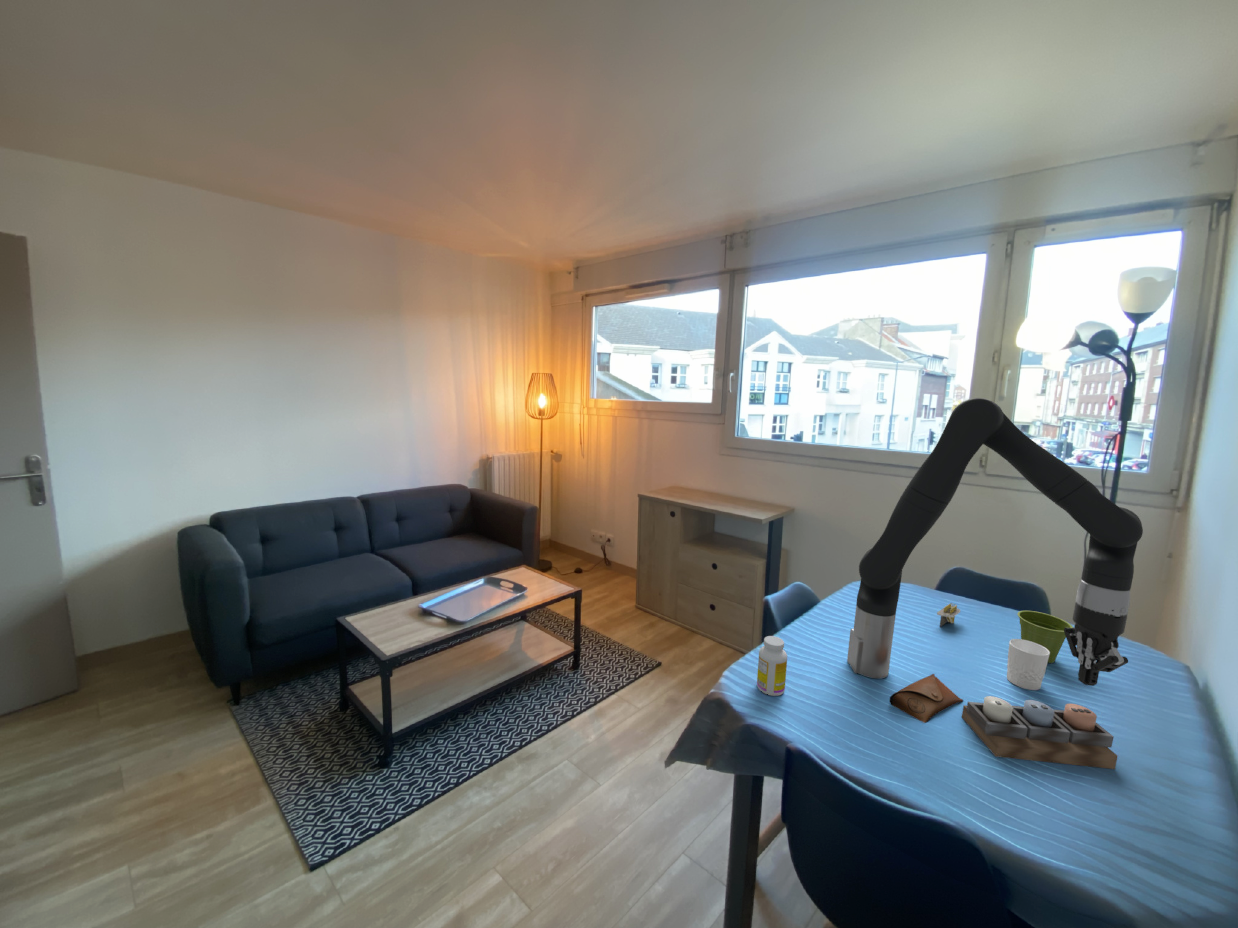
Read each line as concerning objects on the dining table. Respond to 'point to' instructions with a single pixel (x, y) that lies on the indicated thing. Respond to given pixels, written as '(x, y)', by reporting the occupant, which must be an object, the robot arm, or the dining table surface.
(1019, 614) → the plant pot
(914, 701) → the sunglasses case
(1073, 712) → the button three
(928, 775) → the dining table surface
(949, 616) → the platform
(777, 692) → the supplement bottle
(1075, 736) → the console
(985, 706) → the button one
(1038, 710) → the button two
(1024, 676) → the white cup
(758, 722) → the dining table surface
